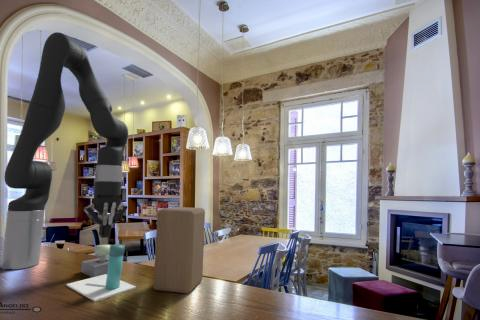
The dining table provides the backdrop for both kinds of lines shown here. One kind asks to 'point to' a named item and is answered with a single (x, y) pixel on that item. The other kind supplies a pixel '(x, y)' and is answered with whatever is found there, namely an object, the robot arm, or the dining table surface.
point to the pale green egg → (102, 252)
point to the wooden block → (179, 249)
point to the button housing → (94, 267)
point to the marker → (114, 266)
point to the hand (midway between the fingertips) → (104, 237)
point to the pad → (98, 288)
